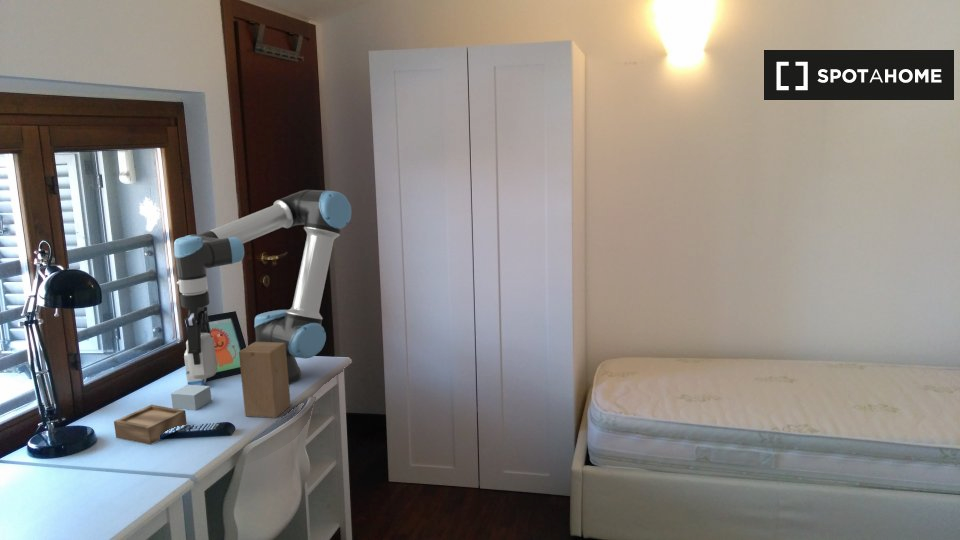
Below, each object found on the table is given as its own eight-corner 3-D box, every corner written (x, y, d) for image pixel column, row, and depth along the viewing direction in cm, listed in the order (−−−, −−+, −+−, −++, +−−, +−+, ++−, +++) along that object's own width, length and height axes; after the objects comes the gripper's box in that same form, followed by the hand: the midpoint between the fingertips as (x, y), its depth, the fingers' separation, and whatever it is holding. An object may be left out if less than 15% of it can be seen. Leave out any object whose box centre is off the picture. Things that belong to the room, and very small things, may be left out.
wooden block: (276, 418, 217) (270, 352, 213) (244, 416, 219) (238, 351, 215) (291, 405, 227) (285, 342, 223) (260, 404, 229) (254, 341, 225)
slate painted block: (189, 399, 235) (187, 384, 234) (211, 401, 233) (209, 386, 232) (172, 409, 228) (171, 393, 227) (195, 411, 226) (194, 395, 225)
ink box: (203, 388, 244) (199, 354, 242) (187, 390, 243) (183, 355, 241) (206, 380, 252) (202, 346, 250) (190, 381, 251) (186, 348, 249)
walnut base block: (153, 420, 219) (151, 404, 218) (187, 426, 214) (185, 410, 213) (116, 437, 207) (113, 421, 206) (150, 444, 202) (148, 427, 201)
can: (199, 370, 219) (194, 331, 217) (222, 371, 218) (218, 331, 215) (184, 379, 212) (179, 338, 210) (208, 380, 211) (203, 339, 208)
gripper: (190, 284, 219) (199, 359, 224) (169, 301, 200) (179, 383, 204) (216, 283, 220) (225, 357, 225) (198, 300, 200) (207, 381, 205)
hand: (203, 369), depth 215 cm, fingers closed on can, 7 cm apart
